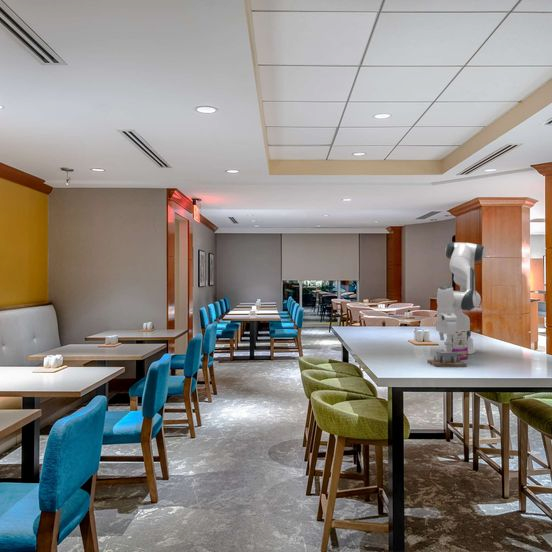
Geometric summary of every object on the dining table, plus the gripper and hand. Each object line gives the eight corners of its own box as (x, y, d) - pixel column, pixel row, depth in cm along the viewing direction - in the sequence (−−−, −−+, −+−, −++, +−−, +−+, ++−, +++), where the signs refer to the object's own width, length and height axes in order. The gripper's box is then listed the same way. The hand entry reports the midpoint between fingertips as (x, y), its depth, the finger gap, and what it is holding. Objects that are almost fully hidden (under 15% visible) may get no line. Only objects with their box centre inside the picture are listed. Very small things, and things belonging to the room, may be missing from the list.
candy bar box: (461, 357, 275) (461, 329, 276) (468, 359, 271) (467, 330, 271) (446, 359, 271) (446, 330, 271) (452, 360, 266) (452, 331, 267)
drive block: (436, 360, 255) (436, 351, 255) (452, 360, 255) (452, 351, 256) (439, 362, 250) (439, 352, 250) (456, 362, 250) (456, 352, 251)
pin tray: (427, 362, 260) (427, 354, 260) (456, 362, 260) (456, 354, 260) (436, 366, 246) (436, 358, 246) (466, 366, 246) (466, 358, 246)
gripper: (433, 314, 264) (433, 338, 264) (446, 317, 243) (446, 344, 244) (444, 314, 264) (444, 338, 264) (458, 317, 243) (458, 344, 244)
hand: (445, 341), depth 254 cm, fingers open, 8 cm apart
